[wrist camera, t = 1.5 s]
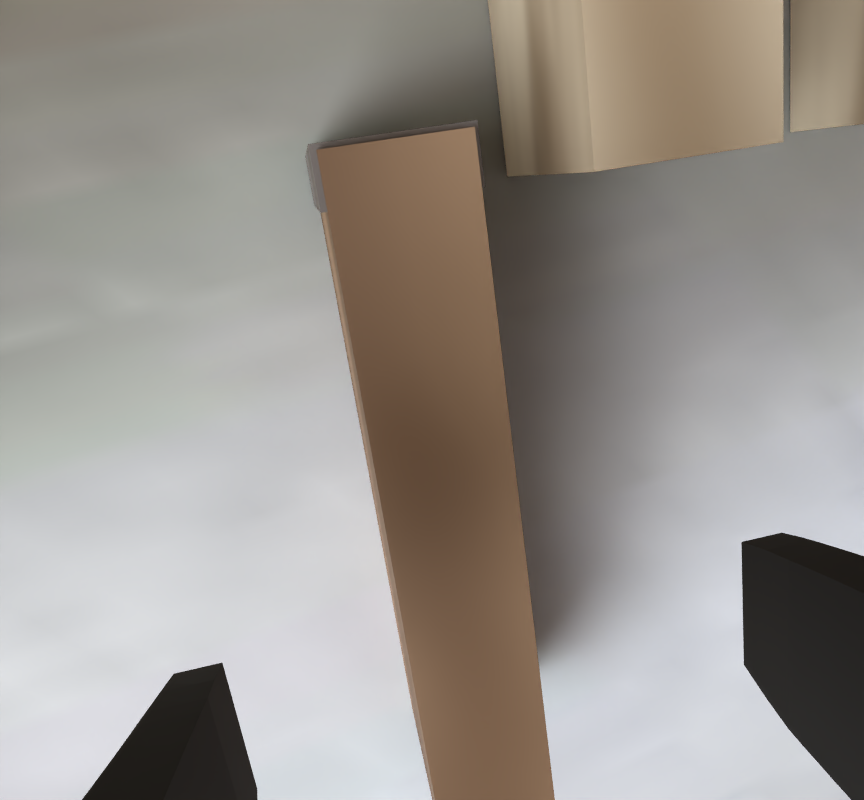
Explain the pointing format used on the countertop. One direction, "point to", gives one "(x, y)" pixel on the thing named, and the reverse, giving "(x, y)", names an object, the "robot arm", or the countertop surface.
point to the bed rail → (439, 447)
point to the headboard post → (667, 77)
